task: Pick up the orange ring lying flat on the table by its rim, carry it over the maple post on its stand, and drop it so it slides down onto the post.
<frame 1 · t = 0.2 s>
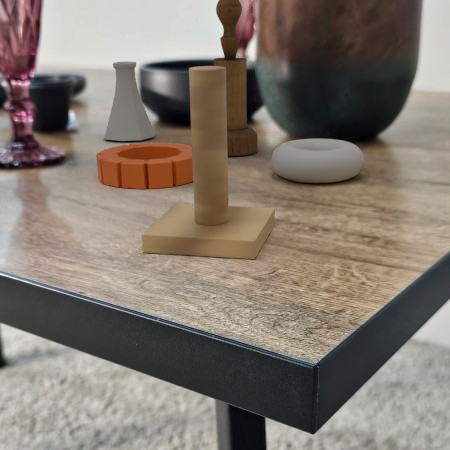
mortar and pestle: (231, 153, 93), on the table
flask: (129, 139, 103), on the table
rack: (212, 237, 61), on the table
donut: (316, 177, 81), on the table
ring: (150, 176, 82), on the table
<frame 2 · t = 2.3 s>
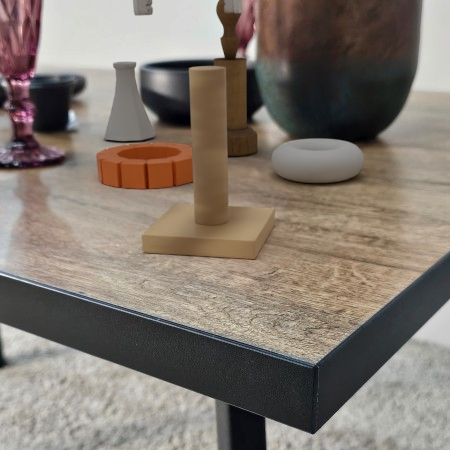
hand: (187, 14, 75), 17 cm above the table, tool pointing down, fingers open, 8 cm apart
nothing on the table moved.
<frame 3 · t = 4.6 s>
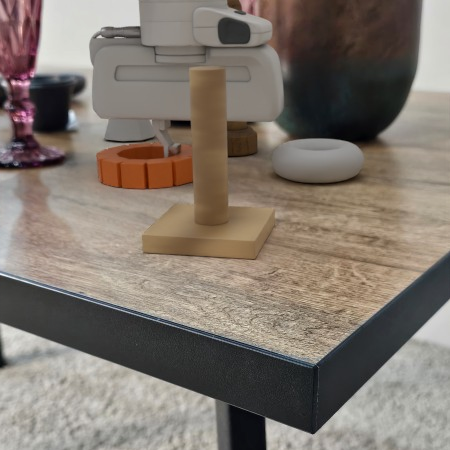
hand: (189, 161, 80), 2 cm above the table, tool pointing down, fingers closed on ring, 2 cm apart
ring: (150, 175, 82), on the table, touching gripper
everything else where it was.
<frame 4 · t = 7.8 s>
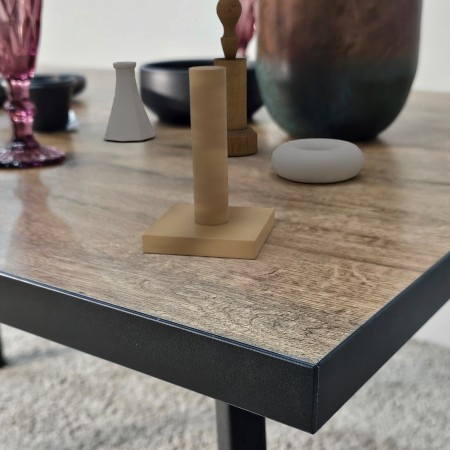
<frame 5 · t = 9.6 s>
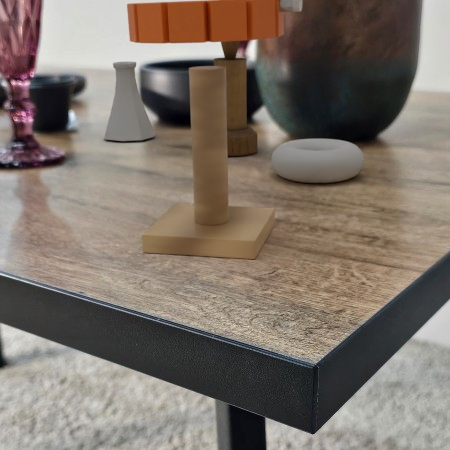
hand: (266, 12, 53), 17 cm above the table, tool pointing down, fingers closed on ring, 2 cm apart
ring: (207, 38, 55), point 16 cm above the table, touching gripper
everything else where it was.
when the fingers open (13 cm above the table, at t = 11.1 s): ring drops 10 cm, resting on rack.
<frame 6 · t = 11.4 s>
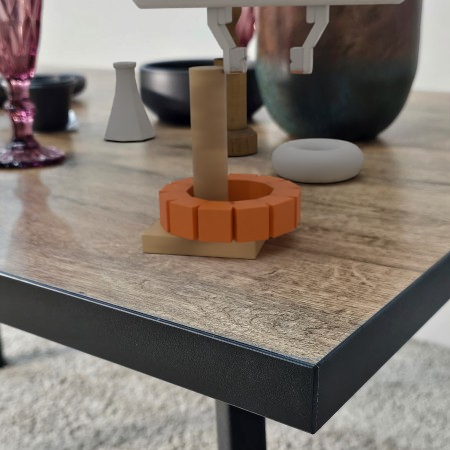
hand: (267, 73, 55), 13 cm above the table, tool pointing down, fingers open, 4 cm apart
ring: (230, 220, 60), point 1 cm above the table, touching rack
everything else where it was.
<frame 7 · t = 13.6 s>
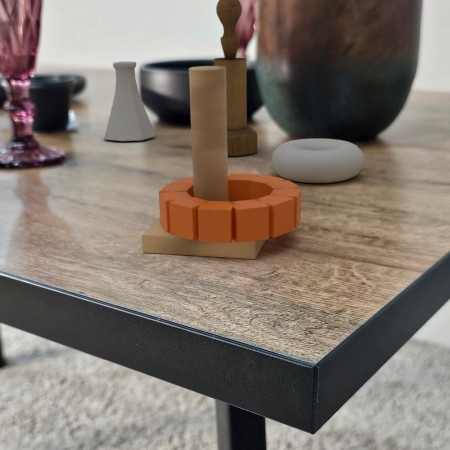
nothing on the table moved.
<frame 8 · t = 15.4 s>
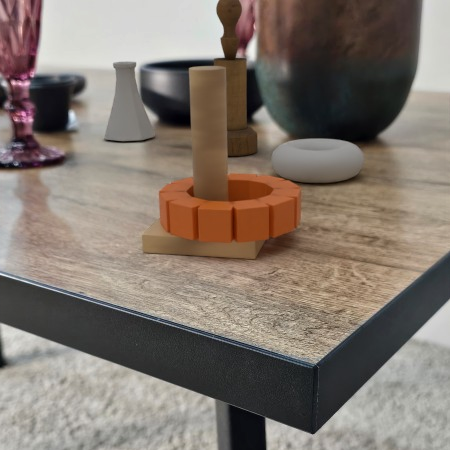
nothing on the table moved.
at the end: ring 1.6 cm off-centre on the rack, point 1.5 cm above the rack's base; the gripper is holding nothing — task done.
